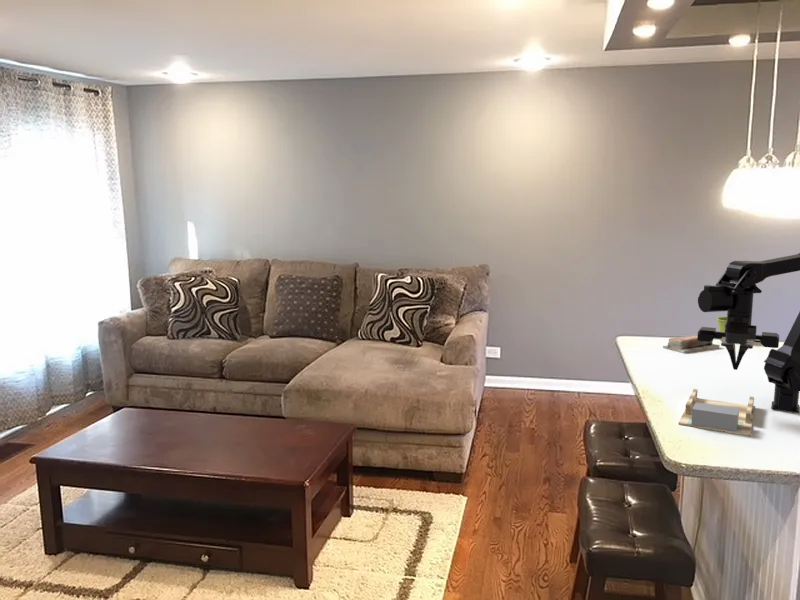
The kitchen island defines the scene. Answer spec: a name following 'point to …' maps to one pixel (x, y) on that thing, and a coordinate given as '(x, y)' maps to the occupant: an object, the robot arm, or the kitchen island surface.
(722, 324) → the plant pot
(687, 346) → the packaged product
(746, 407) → the beige wooden tray
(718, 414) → the slate block
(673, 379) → the kitchen island surface
